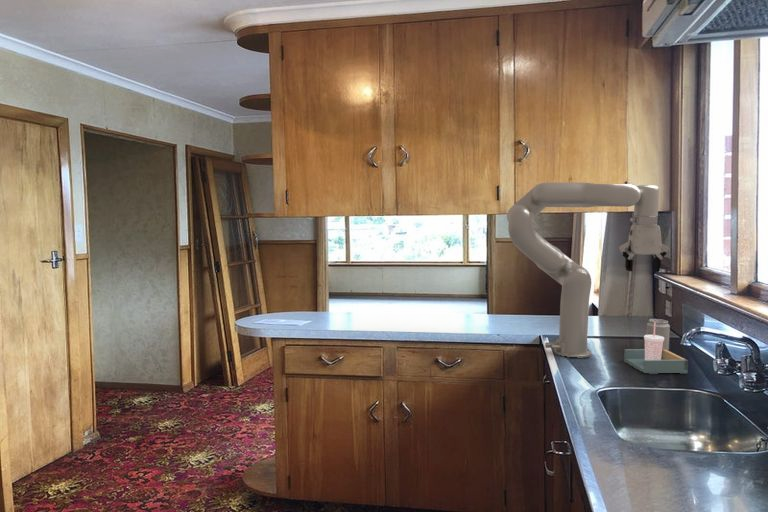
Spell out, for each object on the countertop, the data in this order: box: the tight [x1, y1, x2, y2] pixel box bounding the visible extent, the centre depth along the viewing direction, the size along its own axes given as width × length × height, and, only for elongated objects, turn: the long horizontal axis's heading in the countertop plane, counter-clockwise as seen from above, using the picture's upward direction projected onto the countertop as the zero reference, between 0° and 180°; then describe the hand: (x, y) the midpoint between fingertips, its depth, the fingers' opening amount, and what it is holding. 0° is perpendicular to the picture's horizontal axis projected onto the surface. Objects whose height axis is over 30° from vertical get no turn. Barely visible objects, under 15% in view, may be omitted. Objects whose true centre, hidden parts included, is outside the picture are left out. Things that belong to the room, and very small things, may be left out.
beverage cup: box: [643, 322, 664, 360], centre depth 192 cm, size 6×6×14 cm
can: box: [645, 318, 671, 351], centre depth 210 cm, size 8×8×12 cm
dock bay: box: [623, 348, 689, 375], centre depth 193 cm, size 14×14×4 cm
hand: (642, 270), depth 203 cm, fingers open, 9 cm apart
